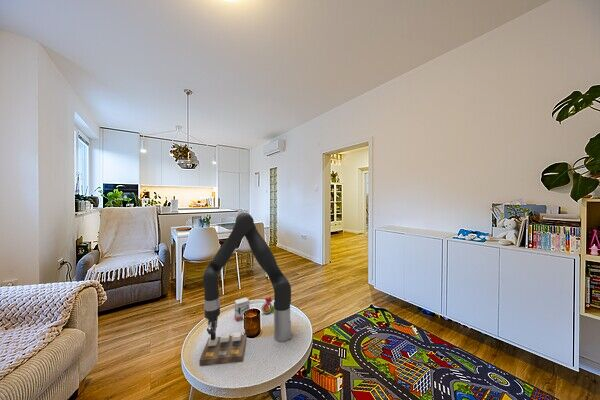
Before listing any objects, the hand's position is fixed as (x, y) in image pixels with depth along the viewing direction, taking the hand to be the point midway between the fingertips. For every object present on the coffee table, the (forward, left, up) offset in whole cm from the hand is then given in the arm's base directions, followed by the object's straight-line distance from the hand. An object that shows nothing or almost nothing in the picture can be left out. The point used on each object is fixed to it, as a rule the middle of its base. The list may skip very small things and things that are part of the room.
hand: (213, 338), depth 117 cm
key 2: (-12, 0, -1) cm, 12 cm away
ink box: (-11, -28, -6) cm, 31 cm away
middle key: (-6, 0, -1) cm, 6 cm away
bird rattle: (-28, -31, -6) cm, 42 cm away
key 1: (0, 0, -2) cm, 2 cm away
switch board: (-6, +2, -6) cm, 9 cm away
